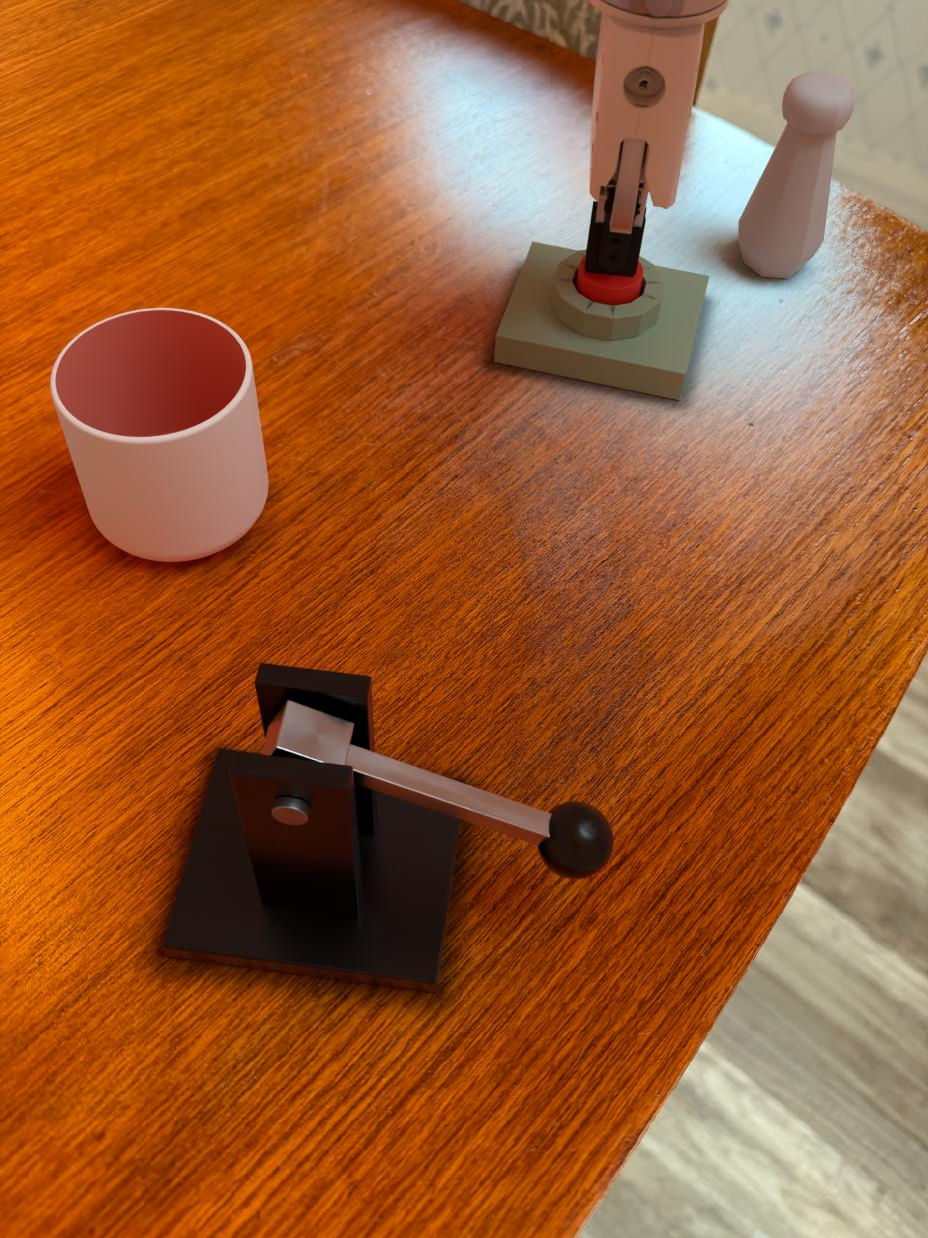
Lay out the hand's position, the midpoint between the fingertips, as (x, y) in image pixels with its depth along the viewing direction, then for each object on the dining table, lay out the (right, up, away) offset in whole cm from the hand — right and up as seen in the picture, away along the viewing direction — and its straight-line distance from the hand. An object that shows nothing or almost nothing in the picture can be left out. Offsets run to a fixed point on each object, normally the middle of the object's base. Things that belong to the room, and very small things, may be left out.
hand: (610, 266), depth 75 cm
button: (0, -1, +1) cm, 2 cm away
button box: (0, -3, +4) cm, 5 cm away
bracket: (-16, -33, -19) cm, 42 cm away
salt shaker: (+12, +3, +9) cm, 16 cm away
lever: (-10, -30, -25) cm, 40 cm away
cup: (-25, -16, -6) cm, 30 cm away
